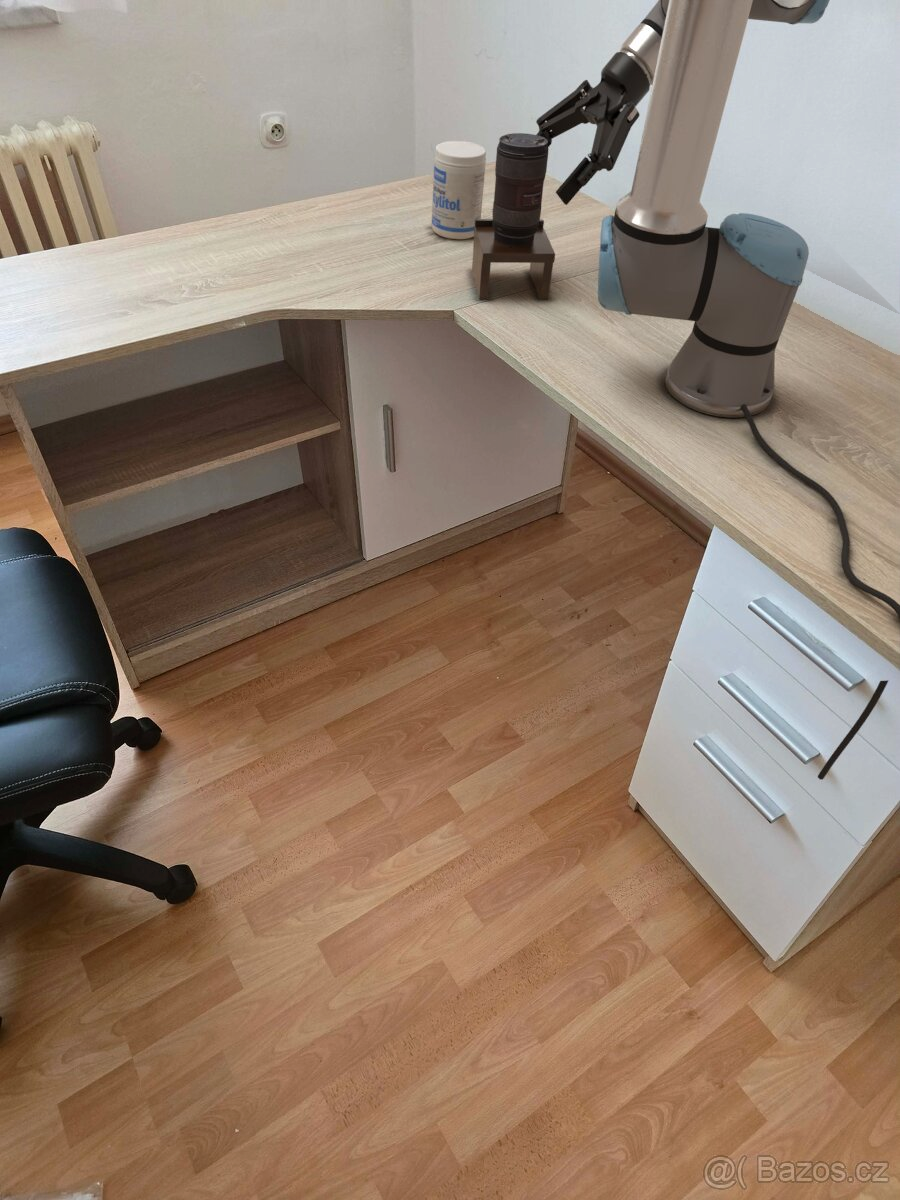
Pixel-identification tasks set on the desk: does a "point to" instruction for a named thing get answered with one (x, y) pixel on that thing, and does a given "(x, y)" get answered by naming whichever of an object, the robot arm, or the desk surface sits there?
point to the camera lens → (519, 187)
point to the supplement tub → (457, 188)
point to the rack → (511, 257)
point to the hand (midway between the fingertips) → (538, 184)
